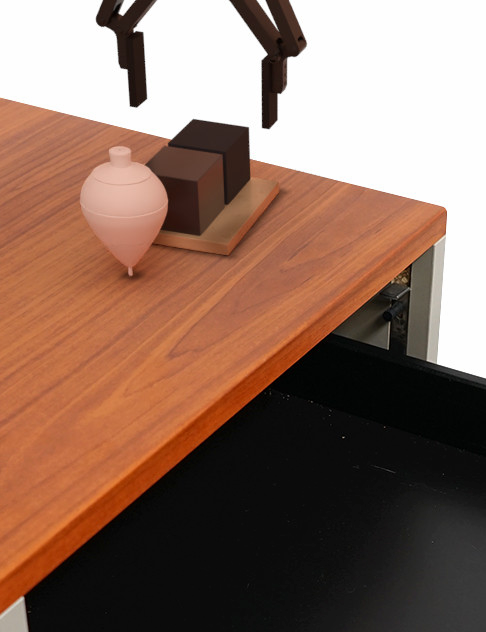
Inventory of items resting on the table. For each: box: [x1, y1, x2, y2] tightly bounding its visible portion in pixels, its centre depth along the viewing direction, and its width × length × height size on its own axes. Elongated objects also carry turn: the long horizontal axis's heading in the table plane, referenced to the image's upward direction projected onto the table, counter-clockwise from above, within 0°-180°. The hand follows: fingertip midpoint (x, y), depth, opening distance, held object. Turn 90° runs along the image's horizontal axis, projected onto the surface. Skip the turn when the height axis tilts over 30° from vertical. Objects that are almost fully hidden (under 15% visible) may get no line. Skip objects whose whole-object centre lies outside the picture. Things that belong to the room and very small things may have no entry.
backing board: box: [144, 145, 280, 256], centre depth 138 cm, size 12×16×7 cm
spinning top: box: [79, 145, 168, 277], centre depth 125 cm, size 8×8×12 cm
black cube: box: [167, 118, 251, 205], centre depth 141 cm, size 6×7×6 cm
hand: (203, 113), depth 137 cm, fingers open, 13 cm apart
